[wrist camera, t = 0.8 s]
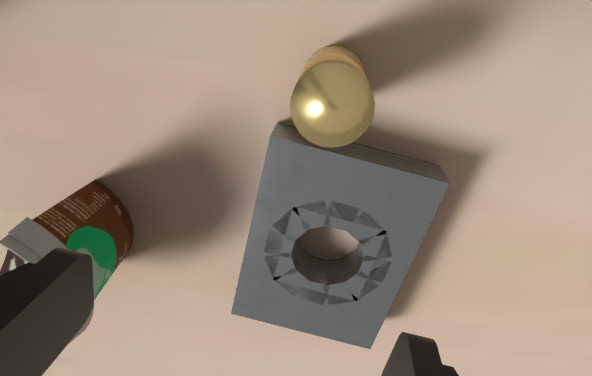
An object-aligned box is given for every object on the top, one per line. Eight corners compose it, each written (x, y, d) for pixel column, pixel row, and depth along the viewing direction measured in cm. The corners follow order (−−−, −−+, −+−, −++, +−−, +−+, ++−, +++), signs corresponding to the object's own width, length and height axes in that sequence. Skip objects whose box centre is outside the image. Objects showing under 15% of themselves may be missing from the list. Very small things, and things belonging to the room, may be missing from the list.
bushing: (312, 38, 24) (301, 54, 17) (372, 54, 24) (386, 77, 17) (297, 98, 26) (281, 135, 19) (353, 113, 26) (359, 156, 19)
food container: (118, 296, 36) (45, 394, 27) (57, 265, 35) (-39, 355, 26) (170, 206, 31) (102, 289, 22) (101, 165, 30) (0, 235, 21)
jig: (277, 122, 27) (270, 136, 24) (439, 165, 27) (450, 183, 24) (239, 288, 34) (231, 313, 31) (367, 321, 34) (370, 349, 32)
